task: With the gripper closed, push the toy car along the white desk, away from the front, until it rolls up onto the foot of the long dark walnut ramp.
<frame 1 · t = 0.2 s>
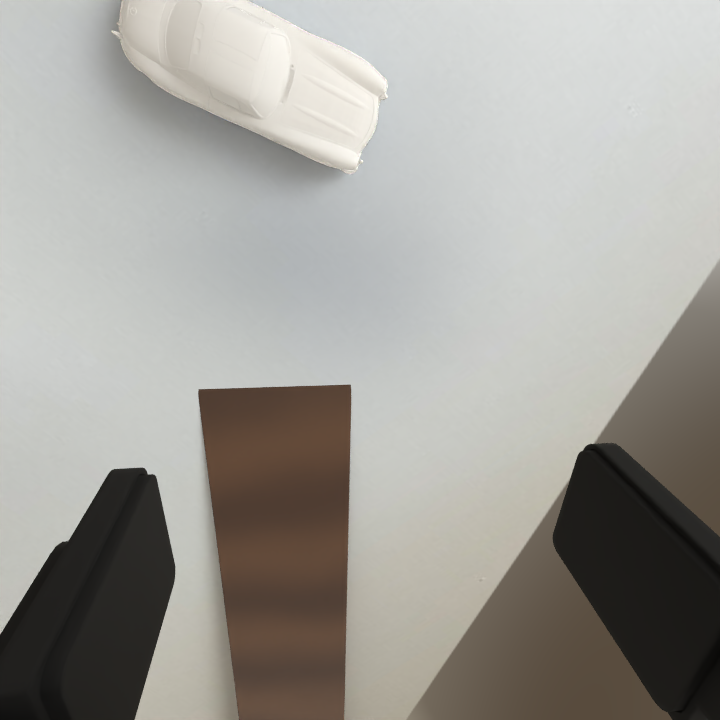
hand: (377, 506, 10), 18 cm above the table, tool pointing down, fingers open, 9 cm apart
ramp: (290, 647, 40), on the table
toy car: (259, 78, 21), on the table
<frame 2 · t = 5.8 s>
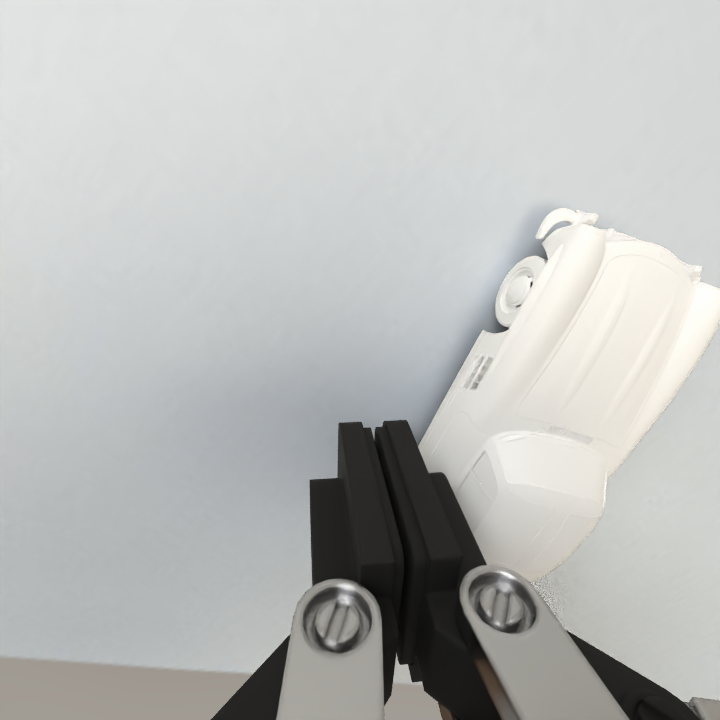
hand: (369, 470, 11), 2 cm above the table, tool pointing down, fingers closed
toy car: (492, 424, 13), on the table, touching gripper
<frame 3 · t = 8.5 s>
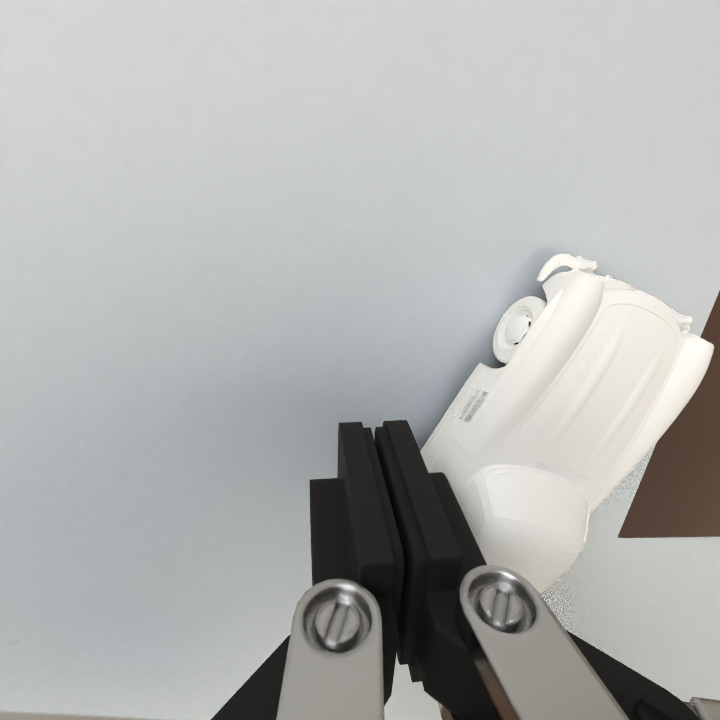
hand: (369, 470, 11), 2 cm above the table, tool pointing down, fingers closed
toy car: (482, 452, 13), on the table, touching gripper
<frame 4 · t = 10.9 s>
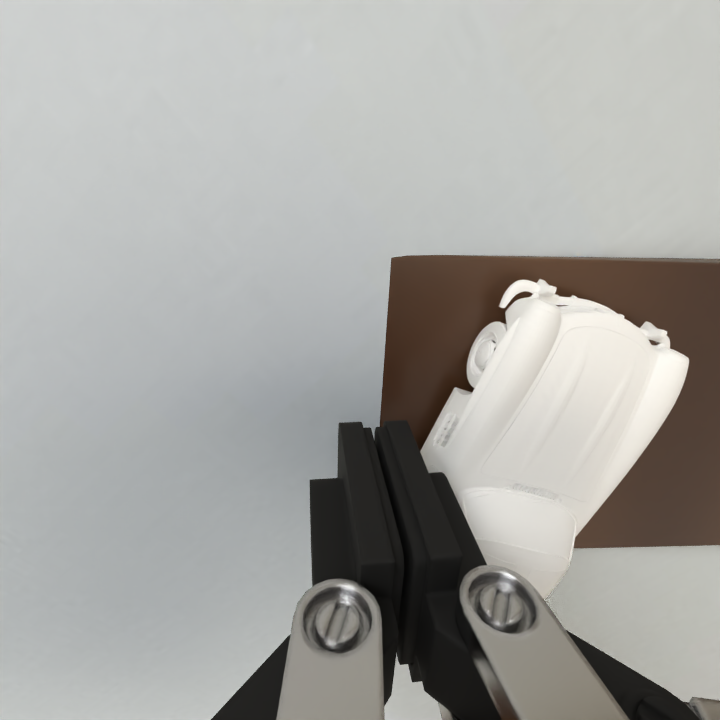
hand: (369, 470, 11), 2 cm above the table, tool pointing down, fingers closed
toy car: (474, 469, 13), on the table, touching gripper, ramp
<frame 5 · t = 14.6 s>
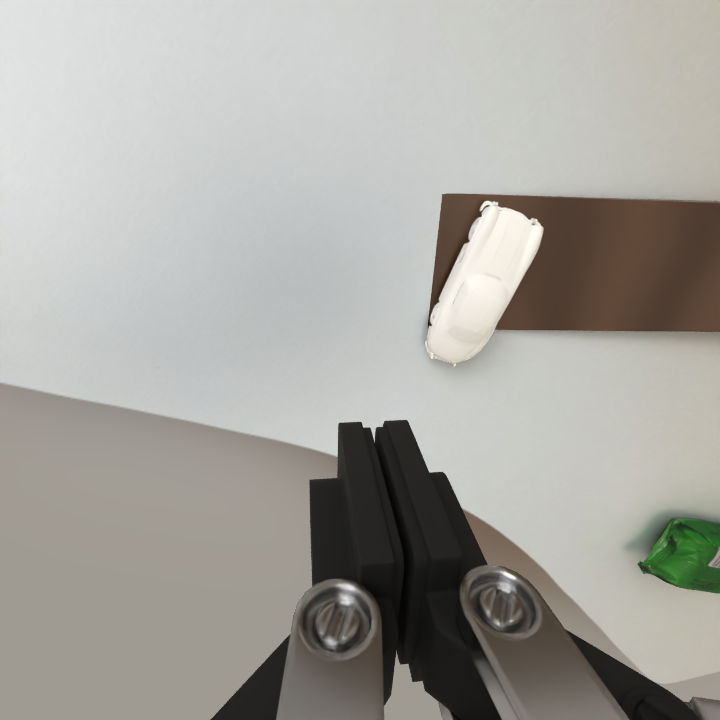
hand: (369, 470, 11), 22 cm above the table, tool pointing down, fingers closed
snack package: (688, 535, 49), on the table
toy car: (471, 286, 33), on the table, touching ramp
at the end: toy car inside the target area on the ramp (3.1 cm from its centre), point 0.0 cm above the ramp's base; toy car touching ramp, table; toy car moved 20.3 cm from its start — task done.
